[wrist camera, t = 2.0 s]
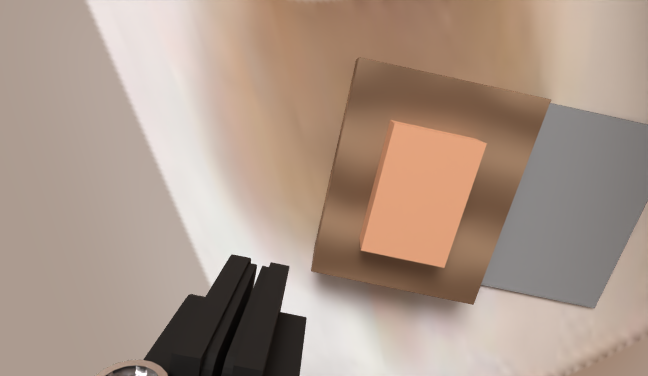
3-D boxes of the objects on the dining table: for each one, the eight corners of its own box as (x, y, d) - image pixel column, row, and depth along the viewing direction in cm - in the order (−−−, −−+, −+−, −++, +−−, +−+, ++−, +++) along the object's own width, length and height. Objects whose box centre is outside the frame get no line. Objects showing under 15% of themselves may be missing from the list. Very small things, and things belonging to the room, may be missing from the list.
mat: (528, 98, 28) (530, 98, 28) (678, 131, 28) (681, 132, 28) (462, 279, 33) (463, 281, 32) (592, 306, 33) (594, 308, 33)
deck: (356, 60, 28) (359, 56, 24) (522, 97, 28) (551, 99, 24) (314, 248, 32) (311, 271, 28) (457, 278, 33) (473, 304, 29)
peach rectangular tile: (390, 119, 25) (394, 123, 23) (475, 138, 25) (486, 143, 23) (359, 238, 28) (360, 250, 26) (436, 254, 28) (444, 267, 26)
